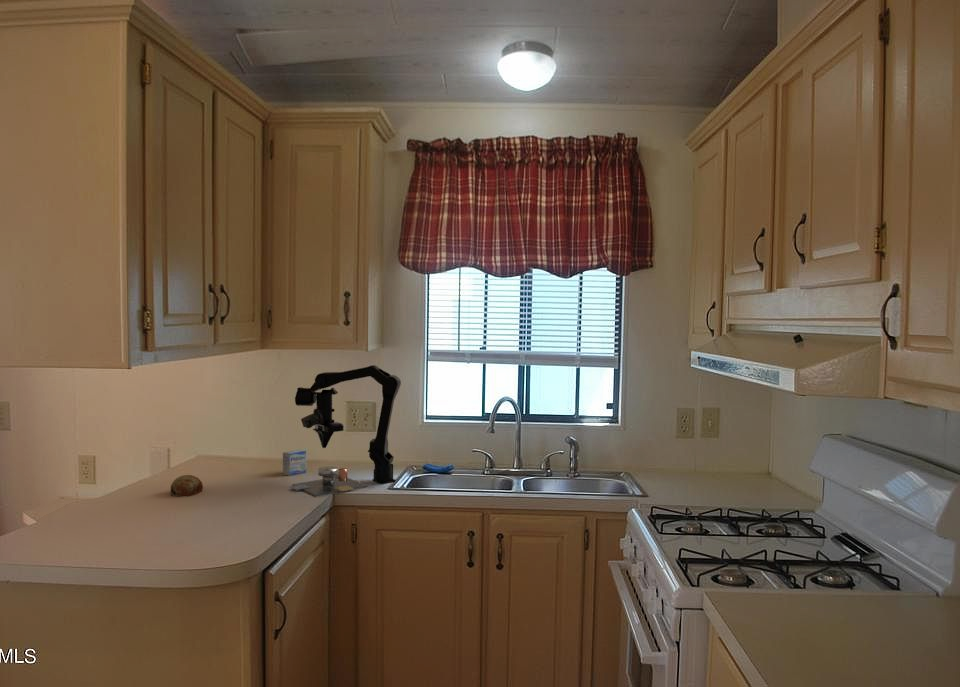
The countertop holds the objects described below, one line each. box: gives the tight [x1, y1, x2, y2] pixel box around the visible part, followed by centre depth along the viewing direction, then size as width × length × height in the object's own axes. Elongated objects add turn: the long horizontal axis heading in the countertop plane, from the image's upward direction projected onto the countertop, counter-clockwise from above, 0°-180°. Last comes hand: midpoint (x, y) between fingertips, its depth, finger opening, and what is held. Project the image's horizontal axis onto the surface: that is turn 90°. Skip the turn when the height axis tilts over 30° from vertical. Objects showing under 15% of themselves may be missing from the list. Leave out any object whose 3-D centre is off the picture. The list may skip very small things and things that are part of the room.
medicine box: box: [282, 449, 307, 477], centre depth 239 cm, size 8×4×9 cm, turn 143°
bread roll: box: [170, 474, 204, 497], centre depth 210 cm, size 10×10×8 cm
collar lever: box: [317, 466, 348, 481], centre depth 220 cm, size 16×7×4 cm, turn 41°
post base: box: [289, 476, 368, 498], centre depth 219 cm, size 22×20×3 cm
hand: (324, 447), depth 229 cm, fingers closed
